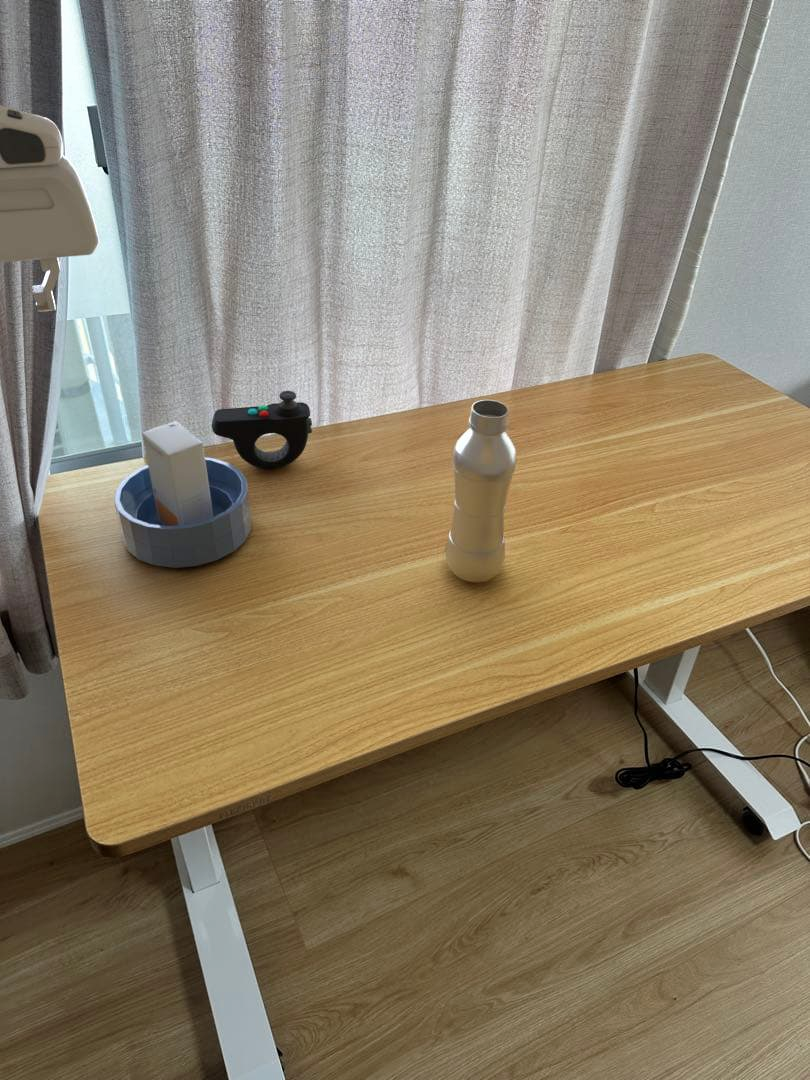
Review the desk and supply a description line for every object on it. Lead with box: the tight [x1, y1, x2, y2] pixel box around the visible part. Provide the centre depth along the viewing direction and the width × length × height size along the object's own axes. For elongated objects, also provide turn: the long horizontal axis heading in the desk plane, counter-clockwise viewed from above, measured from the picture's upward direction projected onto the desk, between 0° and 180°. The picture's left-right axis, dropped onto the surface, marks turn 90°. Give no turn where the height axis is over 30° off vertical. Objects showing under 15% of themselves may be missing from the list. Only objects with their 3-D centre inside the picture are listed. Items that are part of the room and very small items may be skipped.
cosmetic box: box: [141, 420, 213, 526], centre depth 88 cm, size 6×4×12 cm
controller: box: [211, 390, 313, 470], centre depth 101 cm, size 4×12×10 cm, turn 102°
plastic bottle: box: [444, 399, 518, 583], centre depth 83 cm, size 6×7×20 cm
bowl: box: [113, 456, 252, 569], centre depth 91 cm, size 14×14×6 cm
